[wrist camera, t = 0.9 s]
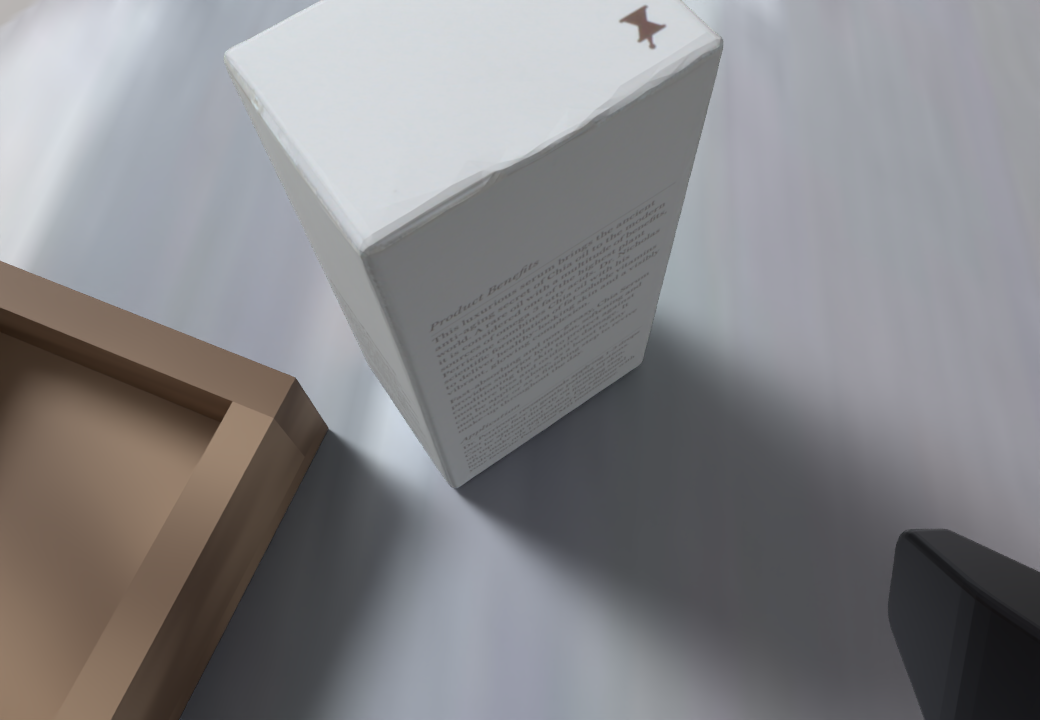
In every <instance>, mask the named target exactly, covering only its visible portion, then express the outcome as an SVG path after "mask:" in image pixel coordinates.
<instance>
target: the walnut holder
mask: <svg viewBox="0 0 1040 720" xmlns="http://www.w3.org/2000/svg"><path fill="white" fill-rule="evenodd" d="M328 429H329V428H328V426H327V425H326V423H325V422H324V420H323V419H322V417H321V416H320V414H319V413H318V411H317V410H316V408H315V407H314V405H313V404H312V402H311V401H310V399H309V397H308V396H307V394H306V393H305V391H304V390H303V388H302V387H301V385H300V384H299V382H298V381H297V379H296V378H295V377H293V376H290V375H287V374H285V373H282V372H280V371H277V370H275V369H272V368H270V367H267V366H265V365H262V364H260V363H257V362H255V361H252V360H250V359H247V358H244V357H242V356H239V355H237V354H234V353H232V352H229V351H227V350H224V349H222V348H219V347H217V346H214V345H212V344H209V343H207V342H204V341H201V340H199V339H196V338H194V337H191V336H189V335H186V334H184V333H181V332H179V331H176V330H174V329H171V328H169V327H166V326H164V325H161V324H158V323H156V322H153V321H151V320H148V319H146V318H143V317H141V316H138V315H136V314H133V313H131V312H128V311H126V310H123V309H121V308H118V307H115V306H113V305H110V304H108V303H105V302H103V301H100V300H98V299H95V298H93V297H90V296H88V295H85V294H83V293H80V292H78V291H75V290H72V289H70V288H67V287H65V286H62V285H60V284H57V283H55V282H52V281H50V280H47V279H45V278H42V277H40V276H37V275H35V274H32V273H29V272H27V271H24V270H22V269H19V268H17V267H14V266H12V265H9V264H7V263H4V262H2V261H0V720H179V718H180V716H181V714H182V712H183V711H184V709H185V707H186V705H187V703H188V701H189V699H190V697H191V695H192V693H193V691H194V689H195V687H196V685H197V683H198V681H199V679H200V677H201V676H202V674H203V672H204V670H205V668H206V666H207V664H208V662H209V660H210V658H211V656H212V654H213V652H214V650H215V648H216V646H217V644H218V642H219V641H220V639H221V637H222V635H223V633H224V631H225V629H226V627H227V625H228V623H229V621H230V619H231V617H232V615H233V613H234V611H235V609H236V607H237V606H238V604H239V602H240V600H241V598H242V596H243V594H244V592H245V590H246V588H247V586H248V584H249V582H250V580H251V578H252V576H253V574H254V572H255V571H256V569H257V567H258V565H259V563H260V561H261V559H262V557H263V555H264V553H265V551H266V549H267V547H268V545H269V543H270V541H271V539H272V537H273V536H274V534H275V532H276V530H277V528H278V526H279V524H280V522H281V520H282V518H283V516H284V514H285V512H286V510H287V508H288V506H289V504H290V502H291V501H292V499H293V497H294V495H295V493H296V491H297V489H298V487H299V485H300V483H301V481H302V479H303V477H304V475H305V473H306V471H307V469H308V467H309V466H310V464H311V462H312V460H313V458H314V456H315V454H316V452H317V450H318V448H319V446H320V444H321V442H322V440H323V438H324V436H325V434H326V432H327V431H328Z"/></svg>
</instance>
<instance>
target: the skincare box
mask: <svg viewBox="0 0 1040 720" xmlns="http://www.w3.org/2000/svg"><path fill="white" fill-rule="evenodd" d="M722 50H723V40H722V38H721V37H720V36H719V35H718V34H717V33H716V32H714V31H713V30H712V29H711V28H710V27H709V26H708V25H707V24H706V23H705V22H704V21H703V20H702V19H701V18H699V17H698V16H697V15H696V14H695V13H694V12H693V11H692V10H691V9H690V8H689V7H688V6H687V5H686V4H685V3H684V2H683V1H682V0H321V1H319V2H317V3H315V4H314V5H312V6H310V7H308V8H306V9H304V10H302V11H300V12H298V13H296V14H295V15H293V16H291V17H289V18H287V19H285V20H283V21H281V22H280V23H278V24H276V25H274V26H272V27H270V28H269V29H267V30H265V31H263V32H261V33H259V34H258V35H256V36H254V37H252V38H250V39H248V40H246V41H244V42H242V43H240V44H237V45H235V46H233V47H231V48H230V49H228V50H227V51H226V52H225V54H224V62H225V65H226V68H227V71H228V73H229V75H230V77H231V79H232V82H233V84H234V86H235V88H236V90H237V92H238V94H239V96H240V98H241V100H242V102H243V104H244V106H245V108H246V111H247V113H248V115H249V117H250V119H251V121H252V123H253V125H254V127H255V129H256V131H257V133H258V135H259V137H260V139H261V142H262V144H263V146H264V148H265V150H266V152H267V154H268V156H269V158H270V160H271V162H272V165H273V167H274V169H275V171H276V173H277V175H278V177H279V179H280V181H281V183H282V185H283V187H284V189H285V191H286V194H287V196H288V198H289V200H290V202H291V204H292V206H293V208H294V210H295V212H296V214H297V216H298V218H299V220H300V223H301V225H302V227H303V229H304V231H305V233H306V235H307V237H308V239H309V241H310V244H311V246H312V248H313V250H314V252H315V254H316V256H317V258H318V260H319V262H320V264H321V266H322V268H323V270H324V273H325V275H326V277H327V279H328V281H329V283H330V286H331V288H332V290H333V292H334V294H335V296H336V298H337V300H338V302H339V304H340V306H341V309H342V311H343V313H344V315H345V317H346V319H347V321H348V323H349V325H350V327H351V330H352V332H353V334H354V336H355V338H356V340H357V342H358V344H359V347H360V349H361V351H362V353H363V355H364V357H365V359H366V361H367V363H368V365H369V367H370V368H371V370H372V371H373V373H374V374H375V376H376V377H377V379H378V380H379V381H380V383H381V384H382V386H383V387H384V389H385V390H386V392H387V393H388V395H389V396H390V398H391V399H392V401H393V403H394V404H395V406H396V407H397V409H398V410H399V412H400V413H401V415H402V416H403V418H404V419H405V421H406V422H407V424H408V425H409V427H410V428H411V430H412V431H413V433H414V434H415V436H416V437H417V439H418V440H419V442H420V443H421V445H422V446H423V448H424V449H425V451H426V452H427V454H428V455H429V457H430V458H431V460H432V461H433V463H434V464H435V466H436V467H437V469H438V470H439V472H440V473H441V475H442V476H443V477H444V479H445V480H446V482H447V483H448V484H449V485H450V486H451V487H452V488H459V487H460V486H462V485H463V484H465V483H466V482H467V481H469V480H470V479H472V478H473V477H474V476H476V475H477V474H479V473H480V472H482V471H483V470H485V469H486V468H488V467H489V466H491V465H492V464H494V463H495V462H497V461H498V460H500V459H501V458H503V457H504V456H506V455H507V454H509V453H510V452H512V451H513V450H515V449H516V448H518V447H519V446H521V445H522V444H524V443H525V442H527V441H528V440H530V439H531V438H532V437H534V436H535V435H537V434H538V433H540V432H541V431H543V430H545V429H546V428H547V427H549V426H550V425H552V424H553V423H555V422H556V421H557V420H559V419H560V418H562V417H563V416H565V415H566V414H568V413H569V412H571V411H572V410H574V409H575V408H577V407H578V406H580V405H581V404H583V403H584V402H586V401H587V400H588V399H590V398H591V397H593V396H594V395H596V394H597V393H599V392H600V391H602V390H603V389H604V388H606V387H607V386H609V385H610V384H612V383H613V382H615V381H616V380H618V379H619V378H621V377H622V376H624V375H625V374H627V373H628V372H630V371H631V370H633V369H634V368H636V367H638V366H639V365H640V364H641V363H642V361H643V358H644V354H645V350H646V346H647V343H648V339H649V335H650V331H651V328H652V323H653V320H654V316H655V312H656V308H657V303H658V300H659V295H660V291H661V287H662V284H663V280H664V275H665V272H666V268H667V264H668V260H669V257H670V253H671V249H672V245H673V241H674V237H675V233H676V229H677V225H678V221H679V218H680V214H681V210H682V206H683V202H684V199H685V195H686V190H687V186H688V182H689V178H690V175H691V171H692V167H693V163H694V159H695V155H696V152H697V148H698V144H699V140H700V137H701V133H702V129H703V125H704V122H705V118H706V114H707V109H708V105H709V101H710V98H711V94H712V90H713V87H714V83H715V79H716V75H717V71H718V66H719V62H720V58H721V54H722Z"/></svg>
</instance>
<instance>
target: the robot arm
mask: <svg viewBox="0 0 1040 720" xmlns="http://www.w3.org/2000/svg"><path fill="white" fill-rule="evenodd" d="M888 615H889V622H890V626H891V630H892V633H893V635H894V638H895V641H896V643H897V646H898V649H899V652H900V654H901V657H902V660H903V662H904V665H905V668H906V671H907V673H908V676H909V679H910V682H911V684H912V687H913V690H914V692H915V695H916V698H917V701H918V703H919V706H920V709H921V711H922V714H923V717H924V720H1040V572H1038V571H1036V570H1034V569H1032V568H1030V567H1028V566H1025V565H1023V564H1021V563H1019V562H1017V561H1015V560H1013V559H1010V558H1008V557H1006V556H1004V555H1002V554H1000V553H998V552H995V551H993V550H991V549H989V548H987V547H985V546H982V545H980V544H978V543H976V542H974V541H972V540H970V539H967V538H965V537H963V536H961V535H959V534H957V533H955V532H952V531H950V530H947V529H910V530H906V531H904V532H903V533H902V534H901V535H900V536H899V539H898V541H897V544H896V549H895V557H894V564H893V571H892V579H891V586H890V593H889V601H888Z"/></svg>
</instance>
